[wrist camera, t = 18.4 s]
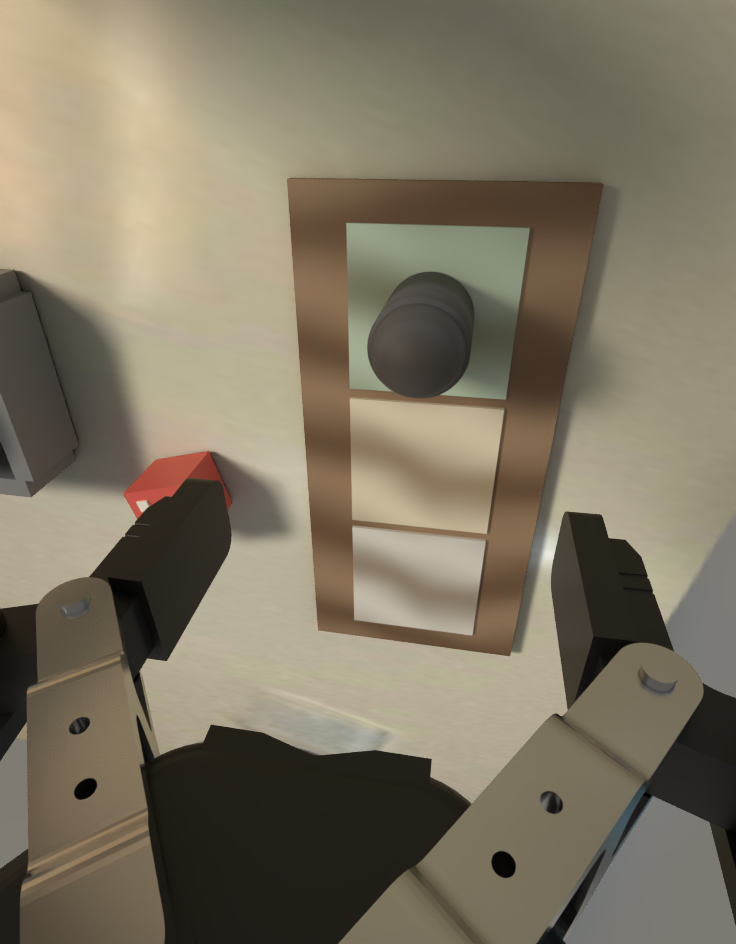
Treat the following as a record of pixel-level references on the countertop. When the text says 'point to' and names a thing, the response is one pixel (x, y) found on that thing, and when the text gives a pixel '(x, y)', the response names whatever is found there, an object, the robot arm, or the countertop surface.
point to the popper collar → (29, 398)
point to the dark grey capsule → (423, 336)
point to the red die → (170, 479)
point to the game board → (433, 398)
